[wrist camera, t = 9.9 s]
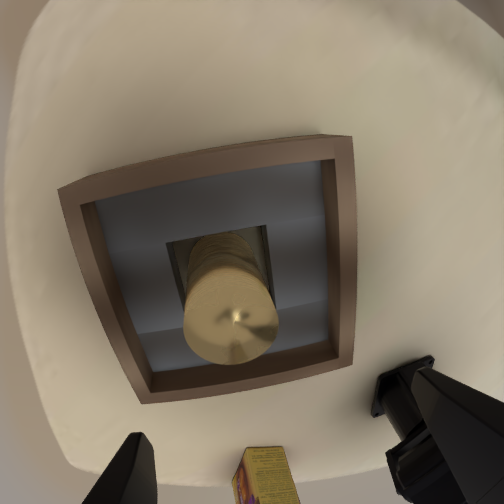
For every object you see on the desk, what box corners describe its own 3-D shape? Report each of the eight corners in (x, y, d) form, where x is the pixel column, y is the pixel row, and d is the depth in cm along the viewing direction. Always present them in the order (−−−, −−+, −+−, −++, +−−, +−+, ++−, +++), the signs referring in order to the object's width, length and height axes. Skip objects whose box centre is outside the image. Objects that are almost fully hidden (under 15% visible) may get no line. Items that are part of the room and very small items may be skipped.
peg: (258, 285, 20) (282, 355, 14) (196, 296, 20) (196, 371, 13) (249, 226, 19) (273, 278, 12) (182, 238, 18) (172, 296, 12)
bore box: (331, 330, 22) (352, 364, 19) (147, 365, 21) (141, 404, 18) (322, 134, 17) (352, 136, 13) (85, 176, 16) (57, 189, 12)
